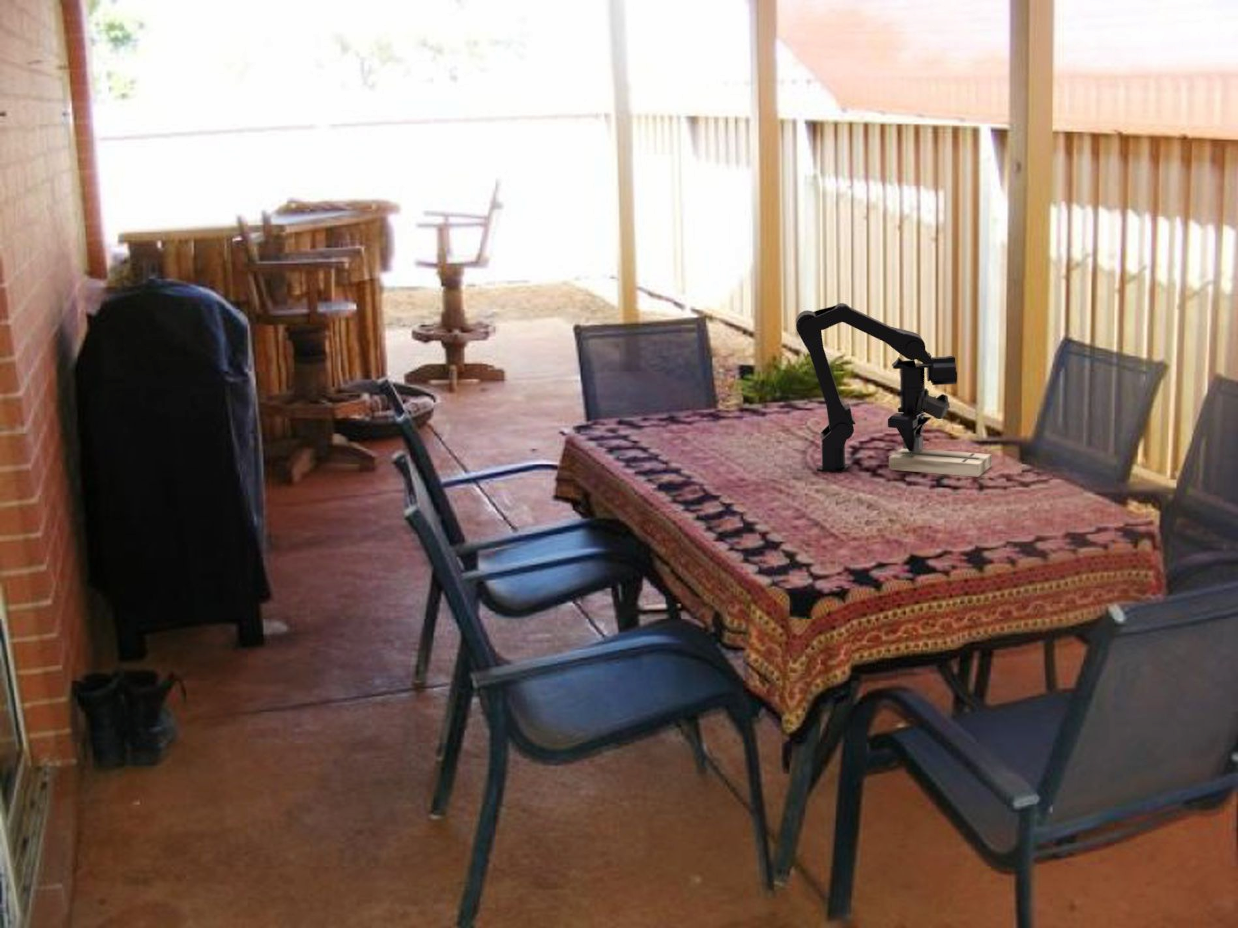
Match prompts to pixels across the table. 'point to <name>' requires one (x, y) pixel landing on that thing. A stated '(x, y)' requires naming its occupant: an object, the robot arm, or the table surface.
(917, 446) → the fader knob
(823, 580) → the table surface
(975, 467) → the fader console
